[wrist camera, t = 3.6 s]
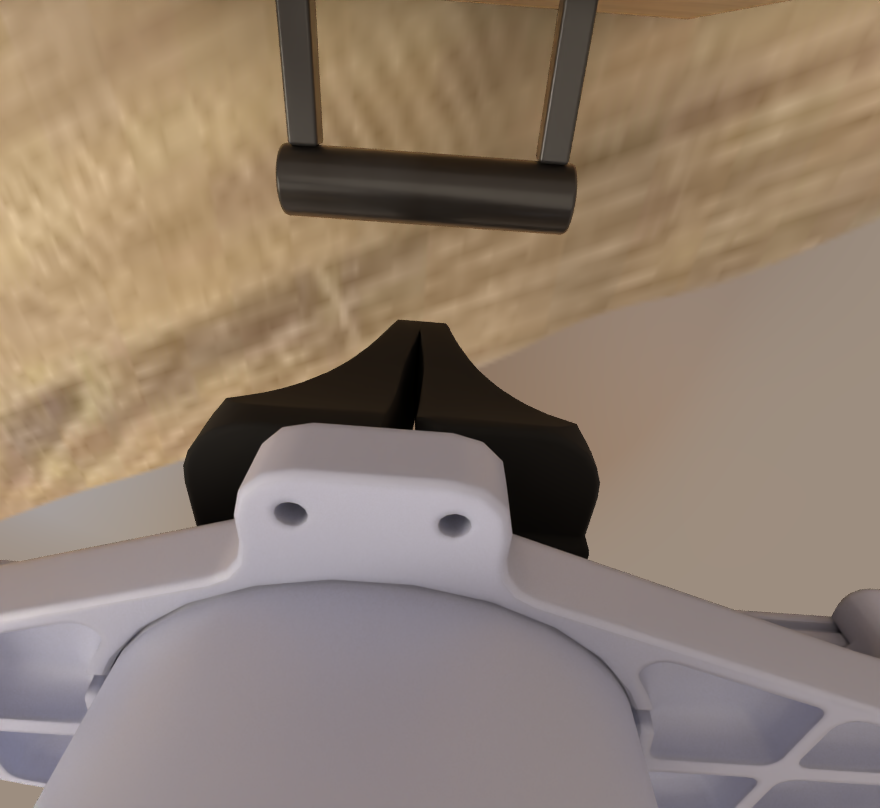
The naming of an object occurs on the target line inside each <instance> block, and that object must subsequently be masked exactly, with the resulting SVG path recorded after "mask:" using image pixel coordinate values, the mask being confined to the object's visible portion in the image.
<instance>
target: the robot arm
mask: <svg viewBox="0 0 880 808" xmlns="http://www.w3.org/2000/svg"><path fill="white" fill-rule="evenodd" d="M414 421H415V430H413V425H414ZM183 467H184V478H185V484H186V488H187V491H188V495H189V499H190V503H191V506H192V510H193V514H194V517H195V521H196V525H197V526H196V527H191V528H186V529H181V530H176V531H171V532H166V533H160V534H155V535H151V536H146V537H140V538H136V539H131V540H126V541H120V542H116V543H110V544H105V545H100V546H95V547H90V548H85V549H80V550H74V551H69V552H65V553H59V554H54V555H50V556H44V557H39V558H34V559H29V560H24V561H8V560H0V779H1V780H6V781H11V782H16V783H22V784H27V785H33V786H38V787H43V788H44V789H43V791H42V793H41V795H40V796H39V798H38V800H37V802H36V803H35V805H34V807H33V808H880V589H862V590H858V591H855V592H852V593H850V594H848V595H847V596H846V597H845V598H843V599H842V600H841V602H840V603H839V604H838V606H837V607H836V609H835V611H834V613H833V615H832V617H828V616H814V615H799V614H783V613H770V612H755V611H754V612H753V611H739V610H733V609H730V608H727V607H724V606H721V605H719V604H716V603H713V602H710V601H707V600H704V599H701V598H698V597H695V596H692V595H689V594H687V593H683V592H681V591H678V590H675V589H672V588H669V587H666V586H663V585H660V584H657V583H655V582H651V581H649V580H646V579H643V578H640V577H637V576H634V575H631V574H628V573H625V572H622V571H620V570H617V569H614V568H611V567H608V566H605V565H602V564H599V563H596V562H593V561H590V560H588V556H589V549H588V545H587V542H586V538H585V534H586V531H587V528H588V525H589V522H590V519H591V516H592V513H593V510H594V507H595V504H596V501H597V498H598V492H599V485H600V481H599V477H598V471H597V467H596V464H595V461H594V459H593V456H592V453H591V451H590V449H589V447H588V445H587V443H586V441H585V439H584V437H583V435H582V434H581V432H580V430H579V428H578V426H577V424H575V423H572V422H568V421H566V420H563V419H560V418H557V417H554V416H551V415H548V414H546V413H543V412H541V411H539V410H537V409H534V408H532V407H530V406H528V405H526V404H524V403H522V402H520V401H519V400H517V399H515V398H514V397H512V396H511V395H509V394H507V393H506V392H504V391H503V390H501V389H500V388H499V387H497V386H496V385H495V384H494V383H492V382H491V381H490V380H489V379H488V378H486V377H485V376H484V375H483V374H482V373H481V372H480V371H479V370H478V369H477V368H476V367H475V366H474V365H473V364H472V362H471V361H470V360H469V359H468V357H467V356H466V354H465V353H464V352H463V350H462V349H461V348H460V346H459V345H458V343H457V341H456V340H455V338H454V336H453V335H452V333H451V331H450V328H449V327H448V326H447V324H446V323H434V322H422V321H409V320H397V321H396V322H395V323H394V324H393V325H392V326H391V327H390V328H389V329H387V330H386V331H385V332H384V333H383V334H382V335H381V336H380V337H379V338H378V339H377V340H376V341H374V342H373V343H372V344H371V345H370V346H369V347H367V348H366V349H365V350H363V351H362V352H361V353H359V354H358V355H357V356H355V357H354V358H352V359H351V360H349V361H348V362H346V363H344V364H342V365H341V366H339V367H337V368H335V369H333V370H331V371H329V372H327V373H325V374H322V375H320V376H317V377H315V378H312V379H310V380H307V381H305V382H302V383H299V384H296V385H292V386H289V387H285V388H281V389H277V390H273V391H269V392H264V393H258V394H252V395H245V396H239V397H231V398H226V399H225V400H224V402H223V403H222V404H221V405H220V406H219V408H218V409H217V410H216V411H215V412H214V414H213V415H212V416H211V418H210V419H209V421H208V422H207V423H206V425H205V426H204V428H203V429H202V431H201V432H200V434H199V435H198V437H197V438H196V440H195V441H194V442H193V444H192V445H191V447H190V448H189V450H188V452H187V455H186V459H185V462H184V465H183Z"/></svg>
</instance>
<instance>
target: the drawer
mask: <svg viewBox="0 0 880 808" xmlns="http://www.w3.org/2000/svg"><path fill="white" fill-rule="evenodd" d="M275 1H276V12H277V23H278V35H279V46H280V57H281V68H282V79H283V91H284V102H285V113H286V124H287V136H288V142H289V143H284V144H282V145H281V146H280V148H279V151H278V156H277V162H276V185H277V193H278V197H279V201H280V204H281V207H282V209H283V211H284V212H285V213H286V214H288V215H293V216H307V217H321V218H335V219H349V220H363V221H377V222H391V223H405V224H419V225H433V226H447V227H461V228H475V229H488V230H502V231H516V232H530V233H544V234H558V235H561V234H564V233H565V232H566V231H567V229H568V227H569V225H570V222H571V219H572V216H573V212H574V208H575V202H576V195H577V171H576V167H575V166H574V165H573V164H571V163H568V162H569V158H570V153H571V147H572V142H573V137H574V131H575V126H576V120H577V115H578V109H579V104H580V99H581V93H582V88H583V82H584V77H585V72H586V66H587V61H588V55H589V50H590V44H591V39H592V34H593V28H594V23H595V17H596V12H602V13H614V14H627V15H640V16H653V17H666V18H679V19H692V18H697V17H703V16H708V15H714V14H719V13H725V12H730V11H736V10H741V9H746V8H752V7H757V6H763V5H768V4H774V3H779V2H785V1H790V0H448V1H460V2H473V3H486V4H499V5H512V6H525V7H537V8H550V9H558V14H557V21H556V28H555V34H554V41H553V47H552V54H551V61H550V67H549V74H548V80H547V87H546V94H545V100H544V107H543V113H542V120H541V127H540V133H539V140H538V146H537V153H536V157H537V159H538V161H530V160H516V159H503V158H489V157H476V156H462V155H448V154H435V153H421V152H408V151H394V150H381V149H367V148H353V147H340V146H326V145H319V144H321V143H322V142H323V129H322V111H321V93H320V75H319V57H318V39H317V21H316V2H315V0H275Z"/></svg>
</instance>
